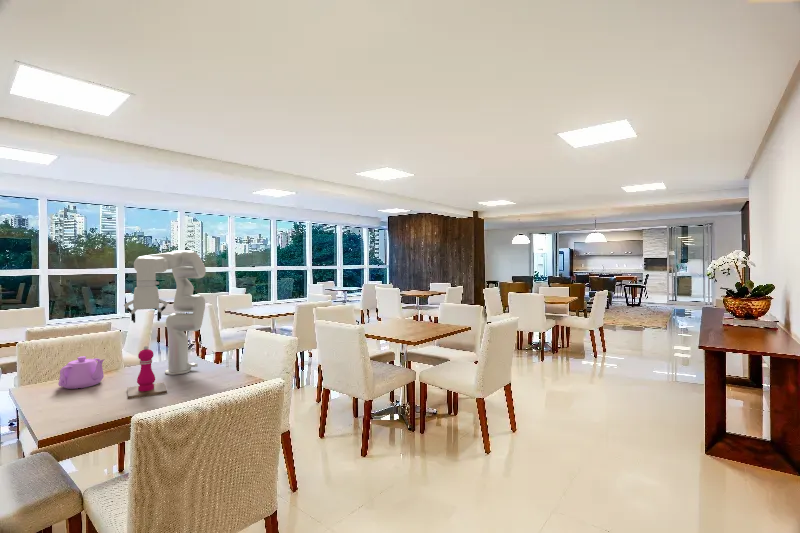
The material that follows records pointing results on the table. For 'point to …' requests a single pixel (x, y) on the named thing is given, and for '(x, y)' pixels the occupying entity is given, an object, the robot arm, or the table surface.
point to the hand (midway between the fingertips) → (146, 321)
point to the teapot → (81, 373)
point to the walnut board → (157, 390)
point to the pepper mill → (146, 370)
